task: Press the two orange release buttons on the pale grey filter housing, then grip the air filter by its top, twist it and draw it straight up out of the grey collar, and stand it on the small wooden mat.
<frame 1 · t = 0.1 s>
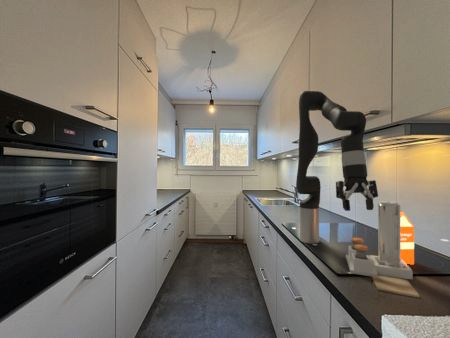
hand: (358, 210, 78), 23 cm above the worktop, tool pointing down, fingers open, 8 cm apart
mat: (392, 285, 70), on the worktop
plunger b: (361, 253, 80), point 7 cm above the worktop, slide at 0.0 cm
orange juice: (395, 260, 89), on the worktop
plunger a: (357, 245, 88), point 6 cm above the worktop, slide at 0.0 cm
air filter: (389, 271, 80), resting in housing
housing: (389, 270, 80), on the worktop
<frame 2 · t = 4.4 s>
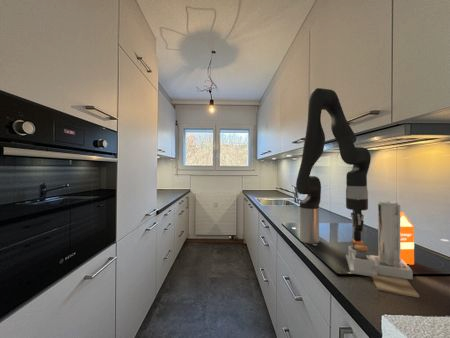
hand: (357, 240, 88), 8 cm above the worktop, tool pointing down, fingers closed
plunger a: (357, 246, 88), point 6 cm above the worktop, slide at 0.6 cm, touching gripper
everything else where it was.
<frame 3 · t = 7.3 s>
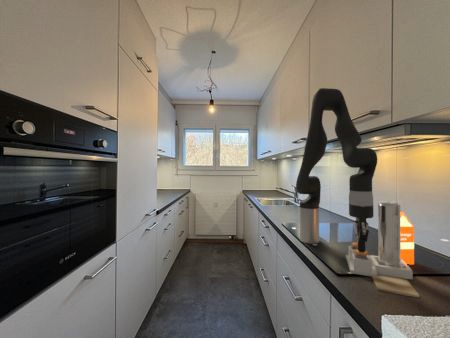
hand: (361, 251, 80), 7 cm above the worktop, tool pointing down, fingers closed
plunger b: (361, 258, 80), point 5 cm above the worktop, slide at 1.7 cm, touching gripper
plunger a: (357, 250, 88), point 5 cm above the worktop, slide at 2.0 cm
everything else where it was.
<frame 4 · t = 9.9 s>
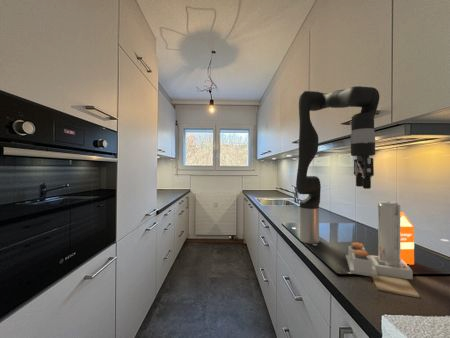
hand: (363, 187, 80), 30 cm above the worktop, tool pointing down, fingers open, 8 cm apart
plunger b: (361, 258, 80), point 5 cm above the worktop, slide at 1.9 cm
everything else where it was.
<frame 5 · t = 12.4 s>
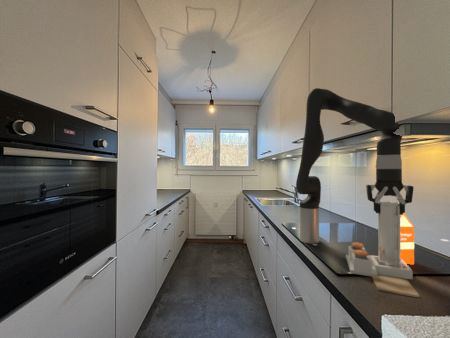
hand: (388, 213, 80), 21 cm above the worktop, tool pointing down, fingers closed on air filter, 6 cm apart
air filter: (389, 271, 80), resting in housing, touching gripper
everything else where it was.
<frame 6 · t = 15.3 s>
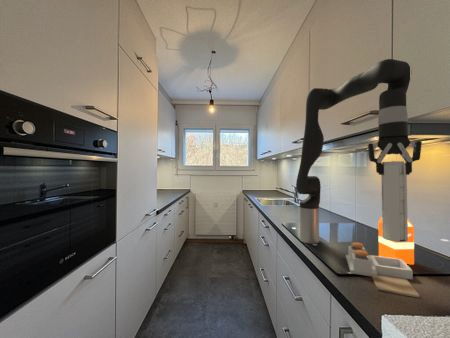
hand: (393, 174, 71), 35 cm above the worktop, tool pointing down, fingers closed on air filter, 6 cm apart
air filter: (394, 239, 71), point 14 cm above the worktop, touching gripper
everything else where it was.
when the fingers open (22 cm above the worktop, at t = 18.3 s): air filter drops 1 cm, resting on mat.
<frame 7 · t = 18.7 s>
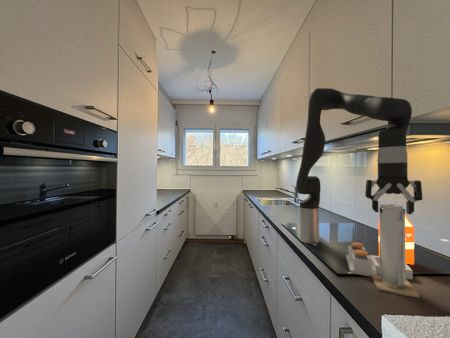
hand: (392, 212, 70), 23 cm above the worktop, tool pointing down, fingers open, 8 cm apart
air filter: (392, 284, 70), resting on mat
everything else where it was.
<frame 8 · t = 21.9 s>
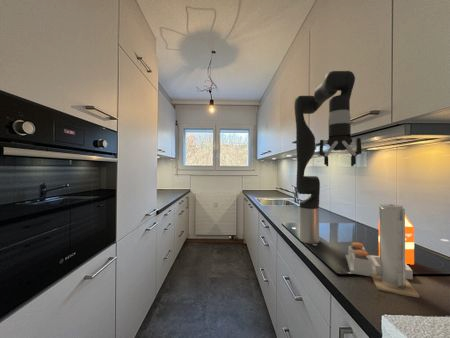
hand: (339, 166, 85), 38 cm above the worktop, tool pointing down, fingers open, 8 cm apart
nothing on the worktop moved.
at the end: air filter inside the target area on the mat (0.2 cm from its centre), point 0.4 cm above the mat's base; plunger a slide at 2.0 cm; plunger b slide at 1.9 cm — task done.
